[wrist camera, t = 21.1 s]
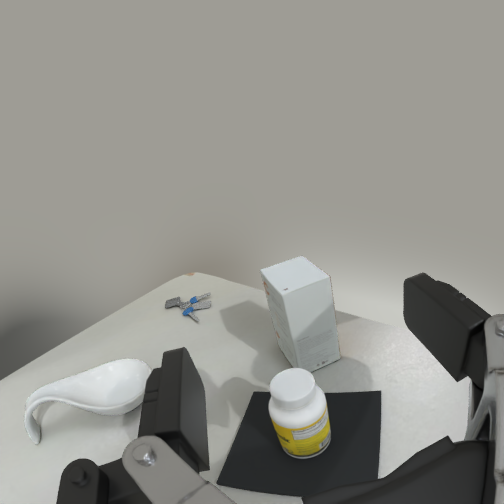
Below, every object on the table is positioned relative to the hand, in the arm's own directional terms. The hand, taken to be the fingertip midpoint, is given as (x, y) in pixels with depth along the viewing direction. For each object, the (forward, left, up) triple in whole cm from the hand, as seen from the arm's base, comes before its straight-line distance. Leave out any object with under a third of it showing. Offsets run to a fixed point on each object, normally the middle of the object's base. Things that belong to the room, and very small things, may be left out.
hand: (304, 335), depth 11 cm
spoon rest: (+36, -8, -24) cm, 44 cm away
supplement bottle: (+5, -10, -23) cm, 26 cm away
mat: (+5, -10, -24) cm, 26 cm away
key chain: (+33, -39, -24) cm, 56 cm away
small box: (+7, -25, -24) cm, 35 cm away
